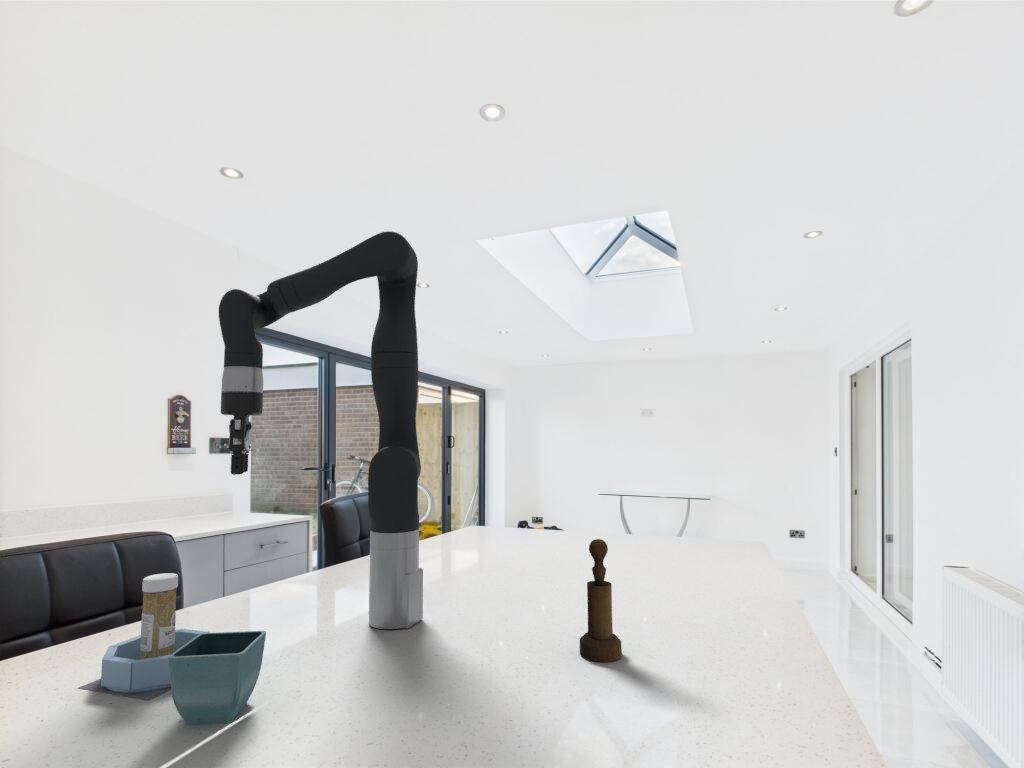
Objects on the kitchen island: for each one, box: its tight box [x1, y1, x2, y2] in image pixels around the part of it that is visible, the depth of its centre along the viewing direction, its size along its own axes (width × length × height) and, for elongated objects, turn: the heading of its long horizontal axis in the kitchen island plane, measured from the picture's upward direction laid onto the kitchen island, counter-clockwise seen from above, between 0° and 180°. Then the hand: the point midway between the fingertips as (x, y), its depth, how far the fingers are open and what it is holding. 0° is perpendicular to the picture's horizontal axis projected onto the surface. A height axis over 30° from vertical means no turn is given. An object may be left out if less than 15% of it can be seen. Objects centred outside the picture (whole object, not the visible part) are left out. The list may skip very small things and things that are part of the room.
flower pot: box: [168, 630, 267, 726], centre depth 72 cm, size 9×9×9 cm
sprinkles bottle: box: [140, 572, 179, 659], centre depth 85 cm, size 5×5×14 cm
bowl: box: [100, 628, 211, 693], centre depth 84 cm, size 13×13×4 cm
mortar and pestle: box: [579, 538, 623, 663], centre depth 92 cm, size 7×6×18 cm
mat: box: [77, 678, 171, 701], centre depth 84 cm, size 13×14×1 cm
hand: (239, 473), depth 112 cm, fingers open, 8 cm apart
